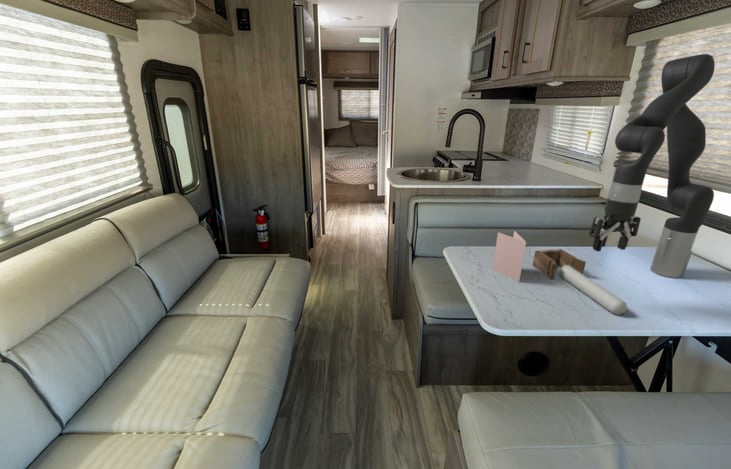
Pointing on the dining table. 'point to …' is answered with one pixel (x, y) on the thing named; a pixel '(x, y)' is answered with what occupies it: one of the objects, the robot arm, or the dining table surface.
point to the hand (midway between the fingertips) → (608, 249)
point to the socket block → (556, 261)
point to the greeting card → (509, 255)
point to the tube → (593, 290)
